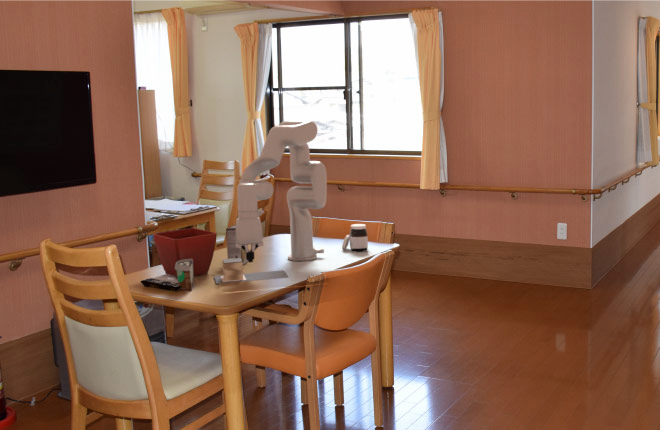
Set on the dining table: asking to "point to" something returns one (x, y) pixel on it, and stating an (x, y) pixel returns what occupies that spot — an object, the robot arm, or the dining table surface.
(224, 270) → the oak cube
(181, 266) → the food container
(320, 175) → the robot arm
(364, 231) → the spread jar
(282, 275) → the topple mat
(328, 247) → the dining table surface
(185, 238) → the plant pot
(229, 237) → the coffee box
